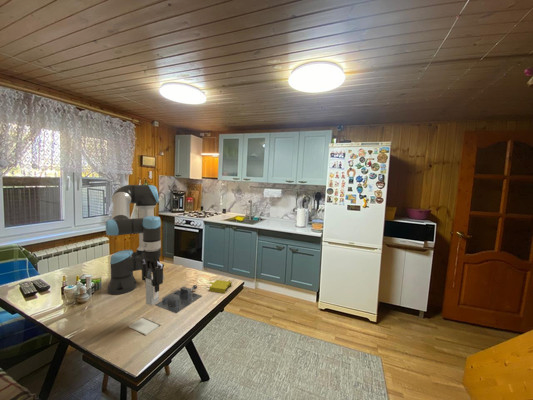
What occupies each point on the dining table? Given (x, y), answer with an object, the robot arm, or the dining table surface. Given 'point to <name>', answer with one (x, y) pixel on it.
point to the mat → (144, 326)
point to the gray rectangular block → (150, 291)
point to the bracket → (219, 286)
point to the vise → (179, 299)
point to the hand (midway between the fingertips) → (152, 296)
